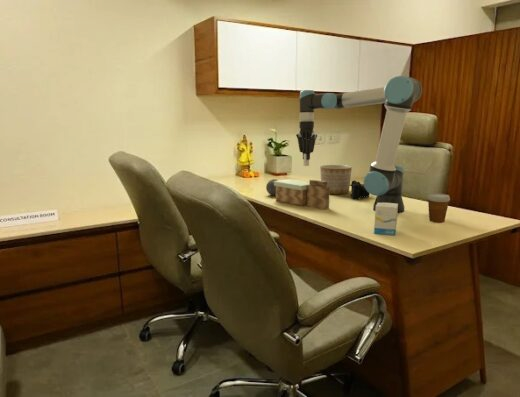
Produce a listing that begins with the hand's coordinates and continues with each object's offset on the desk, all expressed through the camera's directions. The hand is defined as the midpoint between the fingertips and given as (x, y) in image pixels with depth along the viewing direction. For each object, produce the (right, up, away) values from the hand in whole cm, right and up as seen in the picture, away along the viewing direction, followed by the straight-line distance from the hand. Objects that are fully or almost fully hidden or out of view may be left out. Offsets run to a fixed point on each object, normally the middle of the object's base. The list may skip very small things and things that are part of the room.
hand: (306, 165), depth 211 cm
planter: (+23, -14, +38) cm, 47 cm away
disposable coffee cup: (+56, -28, -31) cm, 70 cm away
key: (+6, -11, -4) cm, 13 cm away
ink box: (+27, -32, -47) cm, 63 cm away
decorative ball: (-16, -16, +31) cm, 38 cm away
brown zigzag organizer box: (-1, -21, +6) cm, 22 cm away
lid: (-6, -11, +9) cm, 15 cm away
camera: (+34, -18, +21) cm, 44 cm away
